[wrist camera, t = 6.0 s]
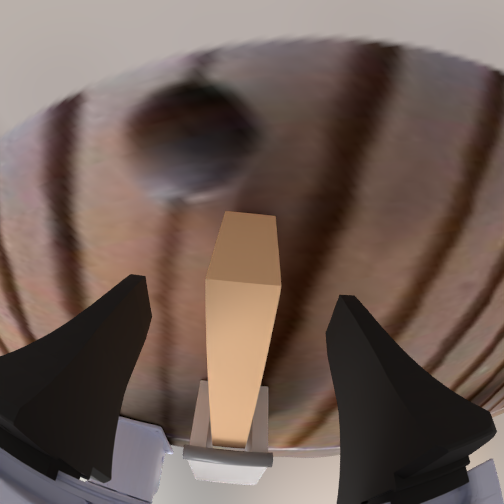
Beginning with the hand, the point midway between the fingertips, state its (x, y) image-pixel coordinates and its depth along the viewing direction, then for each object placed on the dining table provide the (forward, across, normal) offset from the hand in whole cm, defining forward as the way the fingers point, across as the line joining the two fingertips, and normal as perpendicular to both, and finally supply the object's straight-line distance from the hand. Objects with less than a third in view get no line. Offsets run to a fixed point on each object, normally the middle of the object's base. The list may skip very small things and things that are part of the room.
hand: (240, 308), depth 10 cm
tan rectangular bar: (+3, 0, +4) cm, 5 cm away
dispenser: (+3, 0, +14) cm, 14 cm away
